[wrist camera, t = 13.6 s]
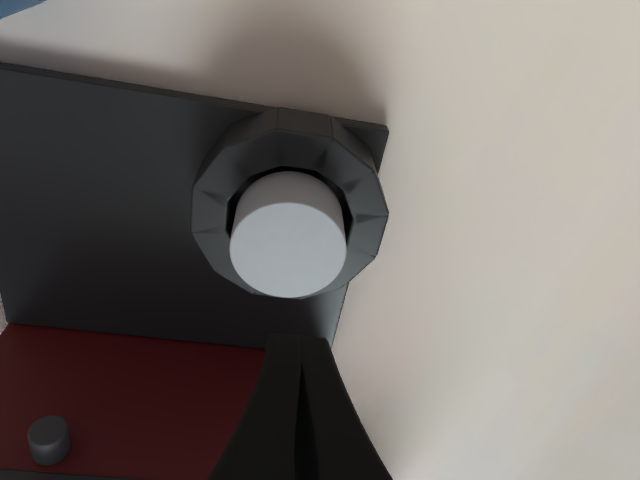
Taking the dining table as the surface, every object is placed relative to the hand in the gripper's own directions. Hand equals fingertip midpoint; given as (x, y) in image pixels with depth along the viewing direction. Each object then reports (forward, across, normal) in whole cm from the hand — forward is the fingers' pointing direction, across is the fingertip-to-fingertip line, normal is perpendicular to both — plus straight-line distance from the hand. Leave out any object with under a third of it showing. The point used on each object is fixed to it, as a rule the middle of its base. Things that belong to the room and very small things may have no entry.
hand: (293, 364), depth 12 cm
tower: (+9, +4, +10) cm, 14 cm away
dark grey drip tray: (+9, +4, +2) cm, 10 cm away
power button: (+6, 0, 0) cm, 6 cm away
